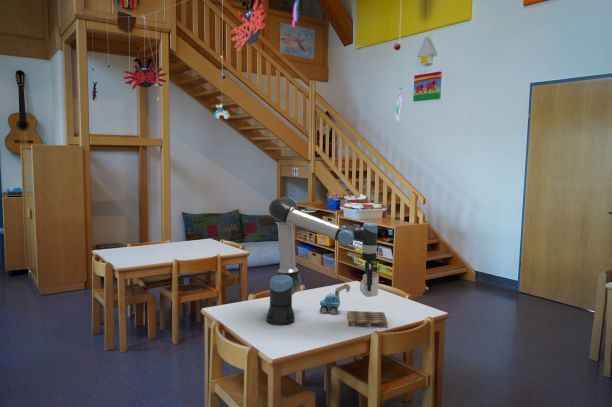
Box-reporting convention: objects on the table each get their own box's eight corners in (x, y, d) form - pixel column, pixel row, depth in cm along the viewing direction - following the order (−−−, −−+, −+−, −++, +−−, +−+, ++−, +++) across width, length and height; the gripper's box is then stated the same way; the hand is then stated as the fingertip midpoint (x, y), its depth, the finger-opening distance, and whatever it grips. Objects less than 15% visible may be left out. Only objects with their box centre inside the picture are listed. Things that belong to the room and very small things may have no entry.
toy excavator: (348, 316, 272) (349, 285, 270) (318, 313, 275) (319, 283, 274) (349, 311, 280) (350, 281, 279) (321, 308, 284) (321, 279, 282)
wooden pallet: (348, 326, 256) (349, 320, 255) (347, 316, 272) (347, 310, 271) (387, 327, 255) (387, 321, 255) (383, 317, 271) (383, 312, 271)
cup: (381, 294, 262) (381, 276, 261) (365, 298, 254) (366, 279, 253) (369, 291, 268) (370, 273, 267) (354, 294, 260) (354, 276, 259)
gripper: (378, 256, 249) (377, 300, 251) (374, 248, 270) (372, 288, 273) (363, 256, 249) (362, 299, 251) (360, 248, 271) (359, 288, 273)
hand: (367, 294), depth 262 cm, fingers closed on cup, 9 cm apart
